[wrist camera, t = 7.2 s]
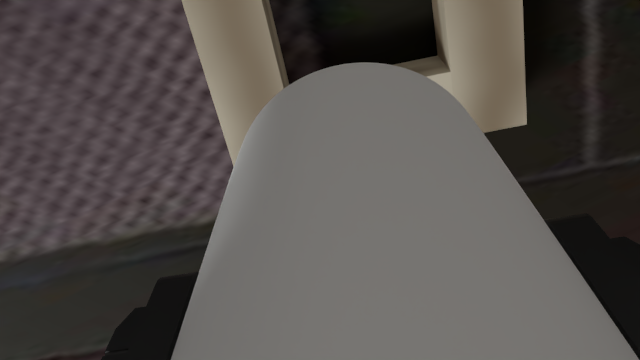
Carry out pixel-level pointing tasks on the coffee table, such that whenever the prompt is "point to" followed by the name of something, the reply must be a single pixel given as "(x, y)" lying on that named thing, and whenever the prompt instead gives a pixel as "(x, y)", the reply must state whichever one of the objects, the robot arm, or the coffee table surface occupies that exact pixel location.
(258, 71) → the socket block
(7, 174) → the coffee table surface
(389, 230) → the can
